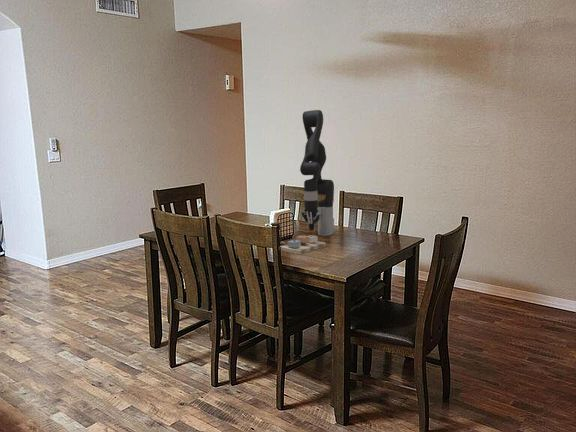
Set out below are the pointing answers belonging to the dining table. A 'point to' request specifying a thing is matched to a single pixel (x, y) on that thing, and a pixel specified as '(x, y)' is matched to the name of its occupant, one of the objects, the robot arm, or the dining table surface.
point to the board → (303, 247)
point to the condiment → (279, 229)
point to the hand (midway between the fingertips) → (311, 230)
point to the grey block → (294, 243)
